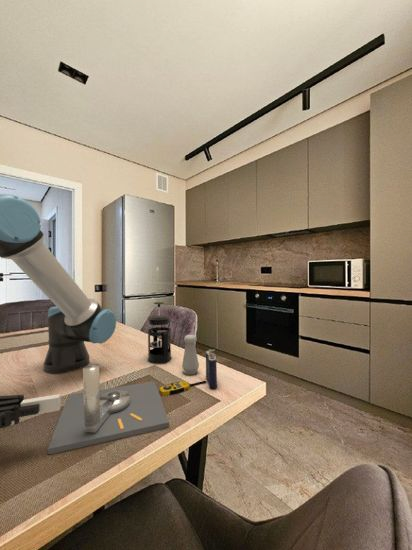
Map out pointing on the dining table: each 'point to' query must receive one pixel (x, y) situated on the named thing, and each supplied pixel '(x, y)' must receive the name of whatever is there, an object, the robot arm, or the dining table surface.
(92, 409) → the silver faucet
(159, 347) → the french press
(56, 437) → the plate
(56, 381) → the dining table surface
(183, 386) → the yellow walkie-talkie
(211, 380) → the flask
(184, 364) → the salt shaker
